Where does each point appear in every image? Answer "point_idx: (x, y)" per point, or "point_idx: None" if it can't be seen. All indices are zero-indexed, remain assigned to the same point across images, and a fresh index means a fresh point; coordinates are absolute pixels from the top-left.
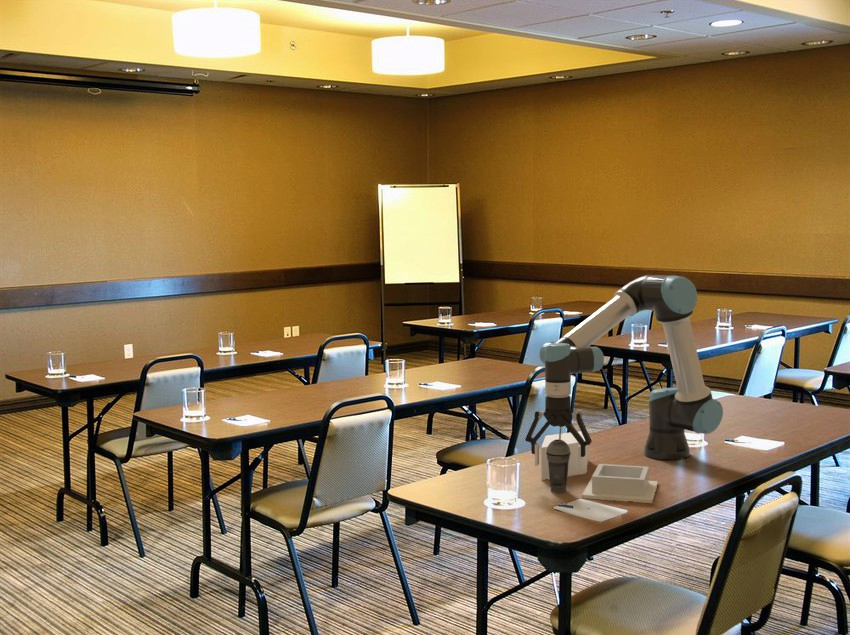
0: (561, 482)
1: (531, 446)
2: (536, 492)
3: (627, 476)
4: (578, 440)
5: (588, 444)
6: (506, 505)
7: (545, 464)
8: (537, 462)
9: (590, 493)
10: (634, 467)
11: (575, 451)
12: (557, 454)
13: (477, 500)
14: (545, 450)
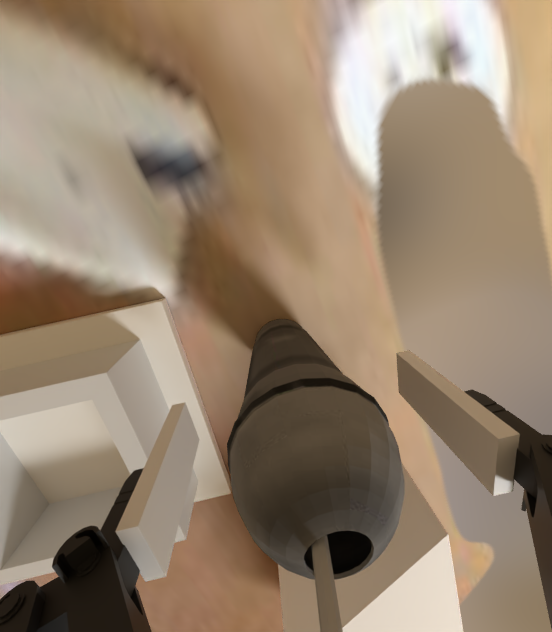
0: (262, 338)
1: (525, 424)
2: (344, 290)
3: (87, 513)
4: (104, 609)
5: (24, 585)
6: (402, 49)
7: None
8: (406, 364)
9: (142, 331)
10: (36, 560)
11: (312, 595)
12: (289, 394)
13: (535, 70)
14: (419, 530)
